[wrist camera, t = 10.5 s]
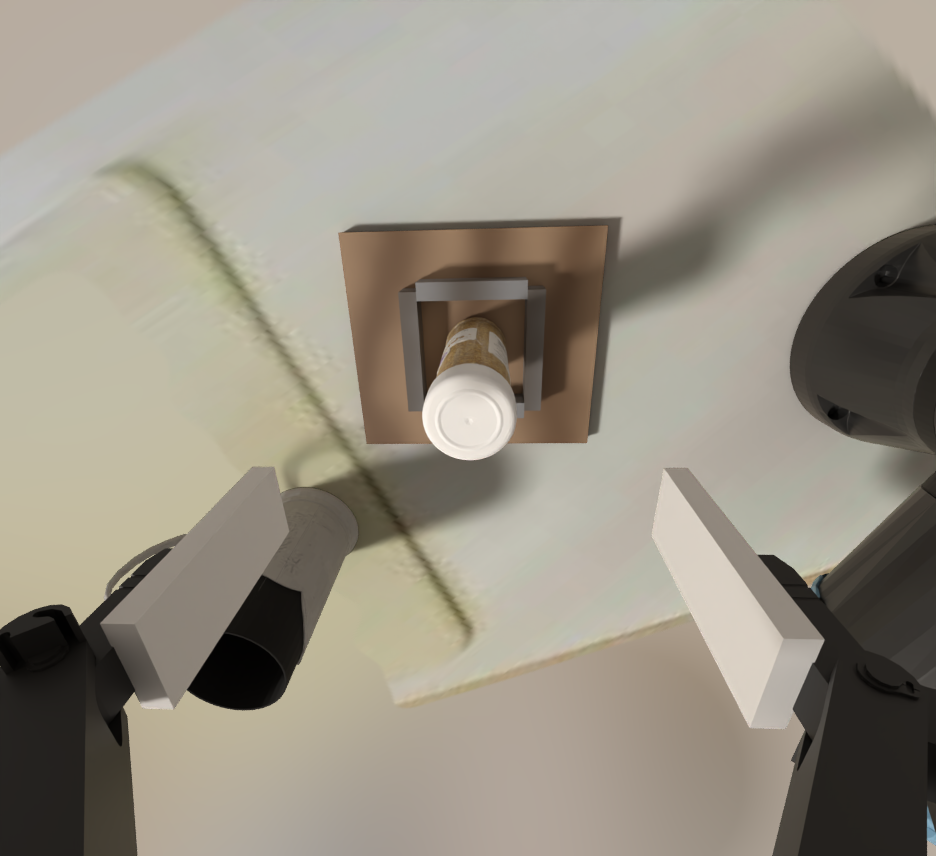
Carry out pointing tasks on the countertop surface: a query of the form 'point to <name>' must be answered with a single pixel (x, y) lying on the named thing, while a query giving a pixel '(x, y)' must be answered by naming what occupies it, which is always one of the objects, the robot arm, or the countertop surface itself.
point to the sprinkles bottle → (471, 393)
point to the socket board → (476, 295)
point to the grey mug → (274, 604)
